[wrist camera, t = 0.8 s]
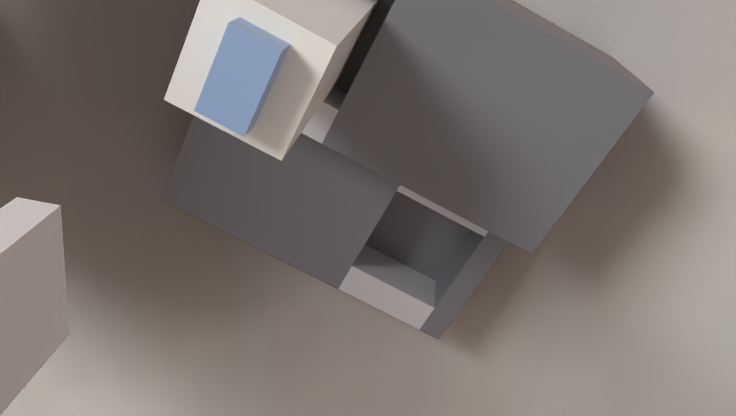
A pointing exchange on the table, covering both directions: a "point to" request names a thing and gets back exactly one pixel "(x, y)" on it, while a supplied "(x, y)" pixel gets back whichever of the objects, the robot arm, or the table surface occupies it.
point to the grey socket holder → (422, 155)
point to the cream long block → (265, 64)
